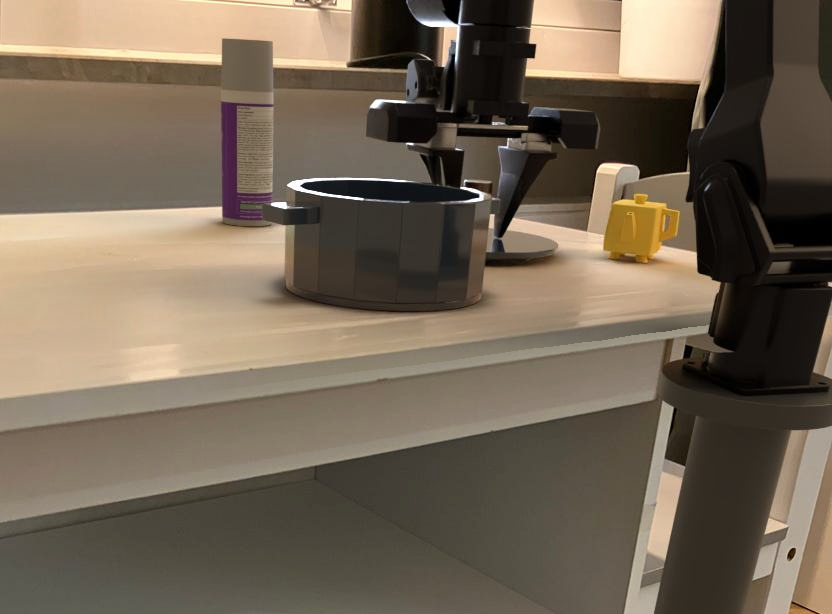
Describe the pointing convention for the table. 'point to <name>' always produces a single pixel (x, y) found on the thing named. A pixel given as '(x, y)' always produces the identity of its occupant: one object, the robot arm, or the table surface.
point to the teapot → (638, 228)
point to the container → (246, 130)
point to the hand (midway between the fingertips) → (473, 237)
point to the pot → (384, 242)
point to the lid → (512, 238)
